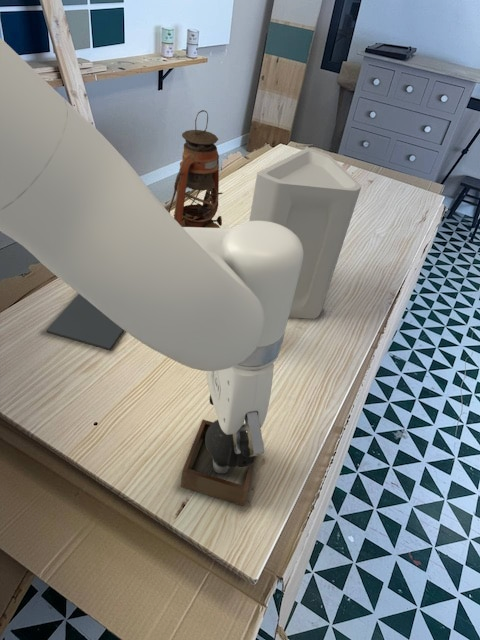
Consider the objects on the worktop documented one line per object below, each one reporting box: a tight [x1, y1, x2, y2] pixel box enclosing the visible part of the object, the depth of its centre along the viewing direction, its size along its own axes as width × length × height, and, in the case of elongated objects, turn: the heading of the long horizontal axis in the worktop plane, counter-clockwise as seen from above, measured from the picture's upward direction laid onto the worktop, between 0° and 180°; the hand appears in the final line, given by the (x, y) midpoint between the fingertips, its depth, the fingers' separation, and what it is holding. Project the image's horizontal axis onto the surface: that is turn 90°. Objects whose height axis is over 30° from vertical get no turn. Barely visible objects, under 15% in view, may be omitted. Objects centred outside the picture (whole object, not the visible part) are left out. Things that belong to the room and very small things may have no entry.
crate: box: [180, 419, 257, 507], centre depth 65 cm, size 9×9×4 cm
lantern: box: [167, 109, 223, 228], centre depth 101 cm, size 17×13×30 cm
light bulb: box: [204, 419, 248, 474], centre depth 63 cm, size 6×6×10 cm
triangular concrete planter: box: [248, 147, 363, 320], centre depth 89 cm, size 19×15×28 cm
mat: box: [45, 293, 125, 351], centre depth 86 cm, size 14×12×1 cm
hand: (230, 431), depth 61 cm, fingers open, 9 cm apart
